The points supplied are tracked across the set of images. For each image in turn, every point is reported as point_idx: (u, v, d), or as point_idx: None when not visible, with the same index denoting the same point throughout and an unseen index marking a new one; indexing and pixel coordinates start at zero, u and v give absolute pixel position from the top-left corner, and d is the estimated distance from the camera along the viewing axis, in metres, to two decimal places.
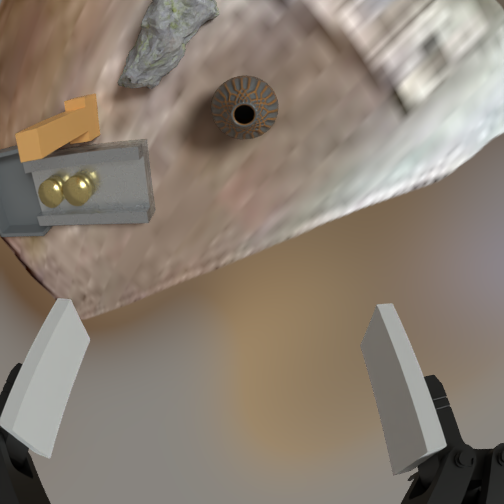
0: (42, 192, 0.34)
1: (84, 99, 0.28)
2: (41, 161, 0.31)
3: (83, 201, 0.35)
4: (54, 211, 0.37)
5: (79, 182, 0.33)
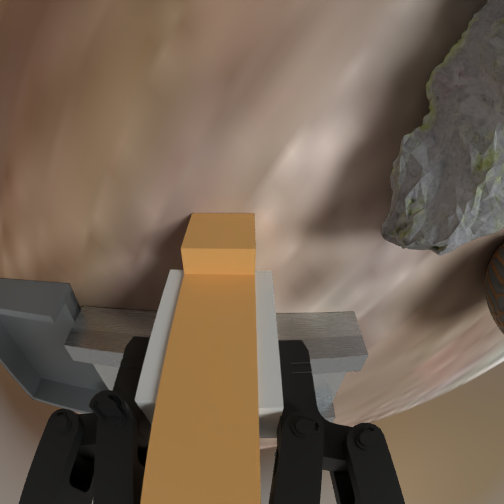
0: None
1: (255, 255, 0.12)
2: (115, 355, 0.16)
3: None
4: None
5: None
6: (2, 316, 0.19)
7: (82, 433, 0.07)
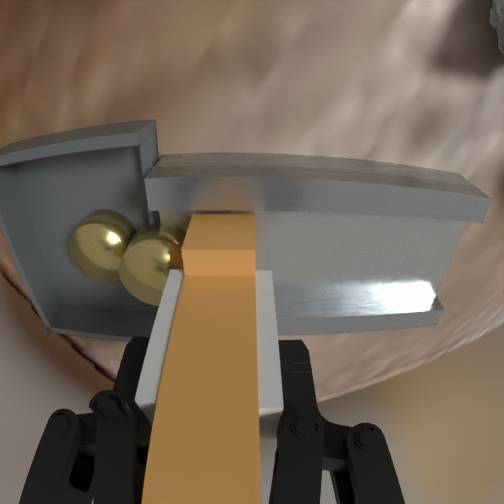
0: (78, 249, 0.16)
1: (255, 256, 0.12)
2: (226, 183, 0.13)
3: None
4: None
5: (170, 257, 0.14)
6: (31, 200, 0.16)
7: (82, 433, 0.07)
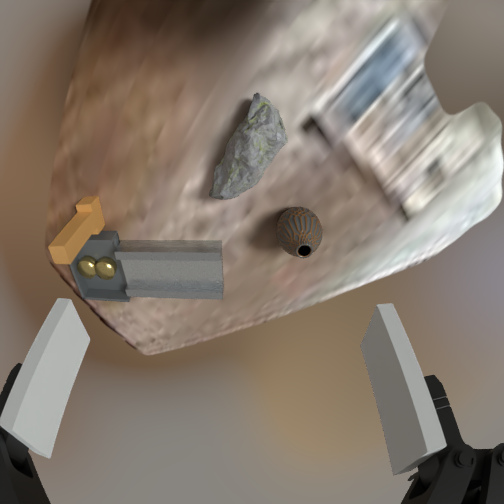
0: (80, 268, 0.51)
1: (91, 205, 0.43)
2: (133, 253, 0.48)
3: (110, 277, 0.52)
4: (140, 285, 0.54)
5: (106, 265, 0.51)
6: None
7: None
